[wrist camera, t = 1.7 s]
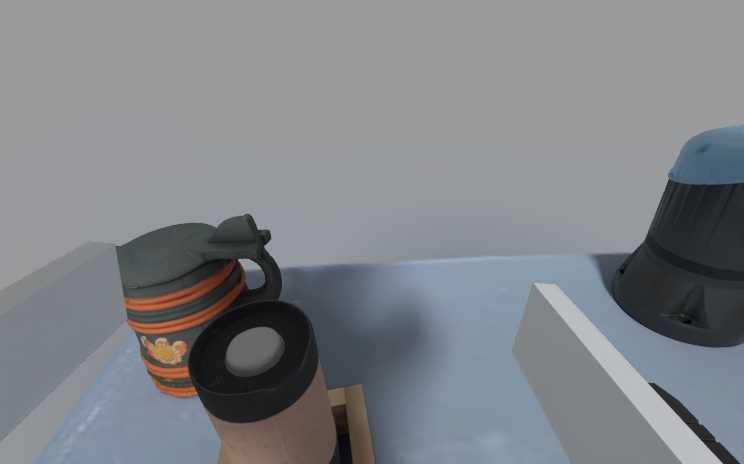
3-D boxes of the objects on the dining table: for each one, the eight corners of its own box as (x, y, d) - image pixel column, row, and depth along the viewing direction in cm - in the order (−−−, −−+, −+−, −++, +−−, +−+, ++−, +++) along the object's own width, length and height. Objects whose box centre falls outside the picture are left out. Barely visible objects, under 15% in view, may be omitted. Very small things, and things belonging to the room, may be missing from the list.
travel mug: (270, 454, 36) (209, 303, 25) (348, 447, 36) (318, 293, 26) (253, 553, 29) (161, 404, 19) (347, 544, 30) (308, 391, 19)
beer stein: (309, 305, 54) (283, 180, 43) (290, 396, 41) (246, 251, 31) (183, 311, 55) (127, 189, 44) (127, 401, 42) (30, 262, 32)
